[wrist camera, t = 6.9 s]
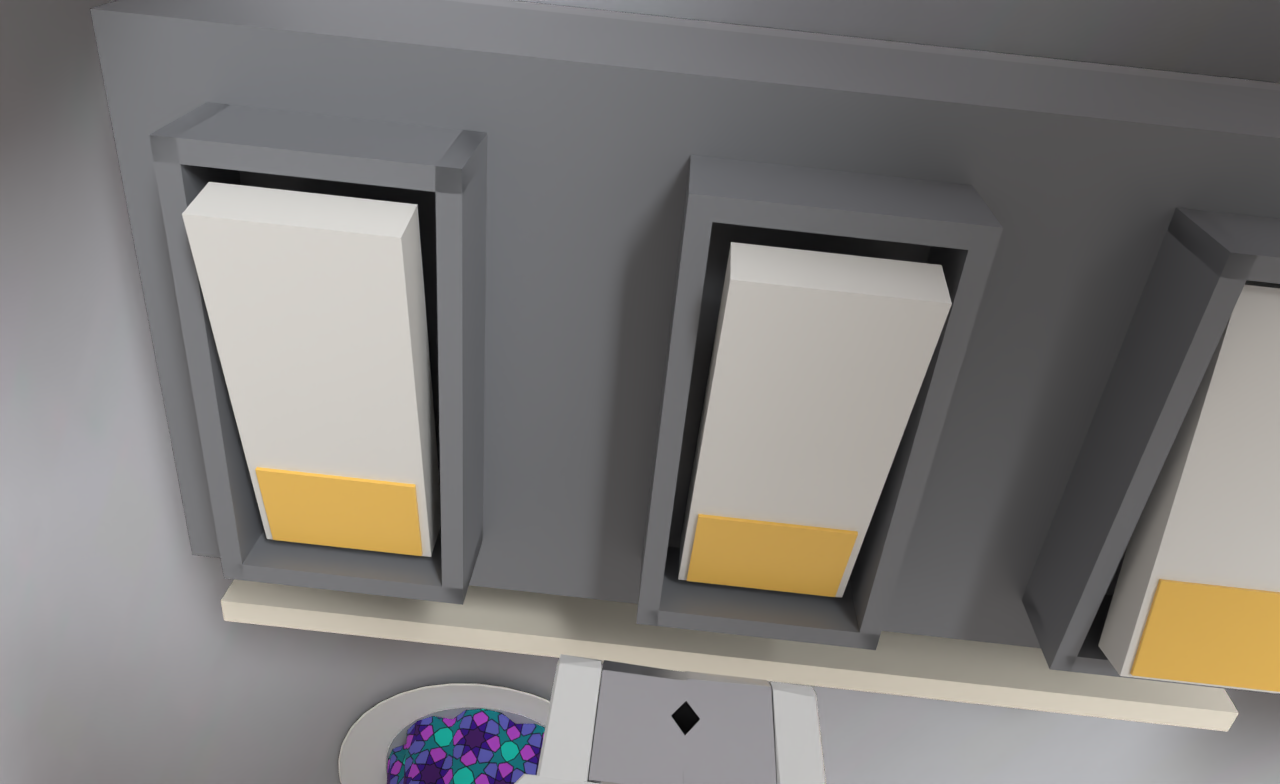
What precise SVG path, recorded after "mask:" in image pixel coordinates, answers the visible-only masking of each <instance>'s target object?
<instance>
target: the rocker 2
mask: <svg viewBox="0 0 1280 784" xmlns="http://www.w3.org/2000/svg"><path fill="white" fill-rule="evenodd" d="M951 304H952V302H951V299H950V295H949V291H948V287H947V284H946V280H945V276H944V272H943V268H942V265H937V264H927V263H918V262H909V261H900V260H891V259H881V258H872V257H863V256H854V255H845V254H836V253H826V252H817V251H808V250H799V249H790V248H780V247H771V246H762V245H753V244H744V243H735V242H731V245H730V250H729V256H728V262H727V268H726V274H725V280H724V286H723V292H722V298H721V304H720V310H719V315H718V321H717V327H716V333H715V339H714V345H713V351H712V357H711V363H710V369H709V375H708V380H707V386H706V392H705V398H704V404H703V410H702V416H701V422H700V428H699V434H698V440H697V446H696V451H695V457H694V463H693V469H692V475H691V481H690V487H689V493H688V499H687V505H686V511H685V516H684V522H683V528H682V534H681V540H680V556H679V574H678V580H687V581H692V582H701V583H710V584H719V585H728V586H737V587H746V588H755V589H764V590H774V591H783V592H792V593H801V594H810V595H819V596H828V597H842V596H843V594H844V591H845V588H846V586H847V583H848V580H849V578H850V575H851V572H852V569H853V567H854V564H855V561H856V559H857V556H858V553H859V551H860V548H861V545H862V543H863V540H864V537H865V535H866V532H867V529H868V527H869V524H870V521H871V519H872V516H873V513H874V511H875V508H876V505H877V503H878V500H879V497H880V495H881V492H882V489H883V487H884V484H885V481H886V478H887V476H888V473H889V470H890V468H891V465H892V462H893V460H894V457H895V454H896V452H897V449H898V446H899V444H900V441H901V438H902V436H903V433H904V430H905V428H906V425H907V422H908V420H909V417H910V414H911V412H912V409H913V406H914V404H915V401H916V398H917V395H918V393H919V390H920V387H921V385H922V382H923V379H924V377H925V374H926V371H927V369H928V366H929V363H930V361H931V358H932V355H933V353H934V350H935V347H936V345H937V342H938V339H939V337H940V334H941V331H942V329H943V326H944V323H945V321H946V318H947V315H948V313H949V310H950V307H951Z"/></svg>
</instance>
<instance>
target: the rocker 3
mask: <svg viewBox="0 0 1280 784" xmlns="http://www.w3.org/2000/svg"><path fill="white" fill-rule="evenodd" d="M1098 646H1099V647H1100V649H1101V650H1102V652H1103V653H1104V654H1105V656H1106V657H1107V659H1108V660H1109V661H1110V663H1111V664H1112V665H1113V667H1114V668H1115V670H1116V671H1117V672H1118V674H1119V675H1120V676H1125V677H1134V678H1143V679H1152V680H1161V681H1170V682H1179V683H1188V684H1197V685H1206V686H1215V687H1225V688H1234V689H1243V690H1252V691H1261V692H1270V693H1279V694H1280V284H1276V283H1267V282H1258V281H1249V280H1247V281H1246V283H1245V285H1244V287H1243V289H1242V292H1241V294H1240V296H1239V298H1238V300H1237V303H1236V305H1235V307H1234V309H1233V312H1232V314H1231V316H1230V318H1229V320H1228V323H1227V325H1226V327H1225V329H1224V332H1223V334H1222V336H1221V338H1220V340H1219V343H1218V345H1217V347H1216V349H1215V352H1214V354H1213V356H1212V358H1211V360H1210V363H1209V365H1208V367H1207V369H1206V372H1205V374H1204V376H1203V378H1202V380H1201V383H1200V385H1199V387H1198V389H1197V391H1196V394H1195V396H1194V398H1193V400H1192V403H1191V405H1190V407H1189V409H1188V411H1187V414H1186V416H1185V418H1184V420H1183V423H1182V425H1181V427H1180V429H1179V431H1178V434H1177V436H1176V438H1175V440H1174V443H1173V445H1172V447H1171V449H1170V451H1169V454H1168V456H1167V458H1166V460H1165V462H1164V465H1163V467H1162V469H1161V471H1160V474H1159V476H1158V478H1157V480H1156V482H1155V485H1154V487H1153V489H1152V491H1151V494H1150V496H1149V498H1148V500H1147V502H1146V505H1145V507H1144V509H1143V511H1142V514H1141V516H1140V518H1139V520H1138V522H1137V525H1136V527H1135V529H1134V531H1133V534H1132V536H1131V538H1130V540H1129V543H1128V547H1127V550H1126V553H1125V557H1124V560H1123V564H1122V567H1121V570H1120V574H1119V577H1118V580H1117V584H1116V587H1115V591H1114V594H1113V597H1112V601H1111V604H1110V608H1109V611H1108V614H1107V618H1106V621H1105V624H1104V628H1103V631H1102V635H1101V638H1100V641H1099V645H1098Z"/></svg>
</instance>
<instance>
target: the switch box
mask: <svg viewBox="0 0 1280 784" xmlns="http://www.w3.org/2000/svg"><path fill="white" fill-rule="evenodd" d="M90 11H91V16H92V22H93V27H94V32H95V38H96V43H97V48H98V54H99V59H100V64H101V70H102V75H103V80H104V86H105V91H106V96H107V102H108V107H109V112H110V118H111V123H112V128H113V134H114V139H115V144H116V150H117V155H118V160H119V166H120V171H121V176H122V182H123V187H124V192H125V198H126V203H127V208H128V214H129V219H130V224H131V230H132V235H133V240H134V246H135V251H136V256H137V262H138V267H139V272H140V278H141V283H142V288H143V294H144V299H145V304H146V310H147V315H148V321H149V326H150V331H151V337H152V342H153V347H154V353H155V358H156V363H157V369H158V374H159V379H160V385H161V390H162V395H163V401H164V406H165V411H166V417H167V422H168V427H169V433H170V438H171V443H172V449H173V454H174V459H175V465H176V470H177V475H178V481H179V486H180V491H181V497H182V502H183V507H184V513H185V518H186V523H187V529H188V534H189V539H190V545H191V550H192V555H198V556H207V557H216V558H221V564H222V570H223V576H224V578H226V579H234V580H233V582H232V583H231V585H230V587H229V588H228V590H227V591H226V593H225V595H224V596H223V598H222V599H221V605H222V611H223V617H224V621H231V622H240V623H249V624H258V625H267V626H276V627H285V628H294V629H303V630H312V631H321V632H330V633H339V634H349V635H358V636H367V637H376V638H385V639H394V640H403V641H412V642H421V643H430V644H439V645H448V646H457V647H466V648H475V649H484V650H493V651H502V652H512V653H521V654H530V655H539V656H548V657H557V658H560V655H561V654H563V655H570V656H577V657H584V658H591V659H598V660H602V663H603V662H604V660H607V661H614V662H621V663H627V664H634V665H640V666H647V667H653V668H660V669H667V670H674V671H684V672H685V671H690V672H699V673H707V674H716V675H725V676H734V677H743V678H752V679H761V680H767V681H774V682H783V683H792V684H801V685H810V686H819V687H828V688H837V689H847V690H856V691H865V692H874V693H883V694H892V695H901V696H910V697H919V698H928V699H937V700H946V701H955V702H964V703H973V704H982V705H991V706H1000V707H1009V708H1019V709H1028V710H1037V711H1046V712H1055V713H1064V714H1073V715H1082V716H1091V717H1100V718H1109V719H1118V720H1127V721H1136V722H1145V723H1154V724H1163V725H1172V726H1182V727H1191V728H1200V729H1209V730H1218V731H1227V732H1228V730H1229V729H1230V727H1231V725H1232V724H1233V722H1234V720H1235V719H1236V717H1237V715H1238V714H1239V713H1238V711H1237V709H1236V708H1235V706H1234V704H1233V703H1232V701H1231V699H1230V698H1229V696H1228V694H1227V693H1226V691H1225V689H1232V690H1241V691H1250V692H1260V693H1269V694H1278V695H1280V694H1279V693H1270V692H1261V691H1252V690H1243V689H1234V688H1225V687H1215V686H1206V685H1197V684H1188V683H1179V682H1170V681H1161V680H1152V679H1143V678H1134V677H1125V676H1120V675H1119V674H1118V672H1117V671H1116V670H1115V668H1114V667H1113V665H1112V664H1111V663H1110V661H1109V660H1108V659H1107V657H1106V656H1105V654H1104V653H1103V652H1102V650H1101V649H1100V647H1099V646H1098V645H1099V641H1100V638H1101V635H1102V631H1103V628H1104V624H1105V621H1106V618H1107V614H1108V611H1109V608H1110V604H1111V601H1112V597H1113V594H1114V591H1115V587H1116V584H1117V580H1118V577H1119V574H1120V570H1121V567H1122V564H1123V560H1124V557H1125V553H1126V550H1127V547H1128V543H1129V540H1130V538H1131V536H1132V534H1133V531H1134V529H1135V527H1136V525H1137V522H1138V520H1139V518H1140V516H1141V514H1142V511H1143V509H1144V507H1145V505H1146V502H1147V500H1148V498H1149V496H1150V494H1151V491H1152V489H1153V487H1154V485H1155V482H1156V480H1157V478H1158V476H1159V474H1160V471H1161V469H1162V467H1163V465H1164V462H1165V460H1166V458H1167V456H1168V454H1169V451H1170V449H1171V447H1172V445H1173V443H1174V440H1175V438H1176V436H1177V434H1178V431H1179V429H1180V427H1181V425H1182V423H1183V420H1184V418H1185V416H1186V414H1187V411H1188V409H1189V407H1190V405H1191V403H1192V400H1193V398H1194V396H1195V394H1196V391H1197V389H1198V387H1199V385H1200V383H1201V380H1202V378H1203V376H1204V374H1205V372H1206V369H1207V367H1208V365H1209V363H1210V360H1211V358H1212V356H1213V354H1214V352H1215V349H1216V347H1217V345H1218V343H1219V340H1220V338H1221V336H1222V334H1223V332H1224V329H1225V327H1226V325H1227V323H1228V320H1229V318H1230V316H1231V314H1232V312H1233V309H1234V307H1235V305H1236V303H1237V300H1238V298H1239V296H1240V294H1241V292H1242V289H1243V287H1244V285H1245V283H1246V281H1247V280H1249V281H1258V282H1267V283H1276V284H1280V83H1273V82H1264V81H1255V80H1245V79H1236V78H1227V77H1218V76H1209V75H1199V74H1190V73H1181V72H1172V71H1162V70H1153V69H1144V68H1135V67H1125V66H1116V65H1107V64H1098V63H1088V62H1079V61H1070V60H1061V59H1051V58H1042V57H1033V56H1024V55H1014V54H1005V53H996V52H987V51H977V50H968V49H959V48H950V47H940V46H931V45H922V44H913V43H903V42H894V41H885V40H876V39H866V38H857V37H848V36H839V35H830V34H820V33H811V32H802V31H793V30H783V29H774V28H765V27H756V26H746V25H737V24H728V23H719V22H709V21H700V20H691V19H682V18H672V17H663V16H654V15H645V14H635V13H626V12H617V11H608V10H598V9H589V8H580V7H571V6H561V5H552V4H543V3H534V2H524V1H515V0H117V1H114V2H111V3H108V4H104V5H101V6H98V7H95V8H91V9H90ZM208 182H216V183H225V184H234V185H243V186H253V187H262V188H271V189H280V190H289V191H298V192H308V193H317V194H326V195H335V196H344V197H354V198H363V199H372V200H381V201H390V202H399V203H409V204H418V217H419V230H420V242H421V255H422V268H423V280H424V293H425V305H426V318H427V331H428V343H429V356H430V369H431V381H432V394H433V406H434V419H435V432H436V444H437V457H438V470H439V482H440V495H441V526H440V529H439V533H438V536H437V539H436V543H435V546H434V549H433V552H432V556H431V557H428V556H415V555H406V554H397V553H388V552H379V551H370V550H361V549H352V548H343V547H333V546H324V545H315V544H306V543H297V542H288V541H279V540H273V539H267V537H266V534H265V530H264V526H263V522H262V518H261V515H260V511H259V507H258V503H257V499H256V495H255V492H254V488H253V484H252V480H251V476H250V472H249V469H248V465H247V461H246V457H245V453H244V450H243V446H242V442H241V438H240V434H239V430H238V427H237V423H236V419H235V415H234V411H233V408H232V404H231V400H230V396H229V392H228V388H227V385H226V381H225V377H224V373H223V369H222V365H221V362H220V358H219V354H218V350H217V346H216V343H215V339H214V335H213V331H212V327H211V323H210V320H209V316H208V312H207V308H206V304H205V300H204V297H203V293H202V289H201V285H200V281H199V278H198V274H197V270H196V266H195V262H194V258H193V255H192V251H191V247H190V243H189V239H188V235H187V232H186V228H185V224H184V220H183V216H182V213H183V212H184V211H185V210H186V208H187V207H188V206H189V205H190V204H191V202H192V201H193V200H194V199H195V198H196V197H197V195H198V194H199V193H200V192H201V191H202V189H203V188H204V187H205V186H206V185H207V184H208ZM731 242H735V243H744V244H753V245H762V246H771V247H780V248H790V249H799V250H808V251H817V252H826V253H836V254H845V255H854V256H863V257H872V258H881V259H891V260H900V261H909V262H918V263H927V264H937V265H942V268H943V272H944V276H945V280H946V284H947V287H948V291H949V295H950V299H951V302H952V304H951V307H950V310H949V313H948V315H947V318H946V321H945V323H944V326H943V329H942V331H941V334H940V337H939V339H938V342H937V345H936V347H935V350H934V353H933V355H932V358H931V361H930V363H929V366H928V369H927V371H926V374H925V377H924V379H923V382H922V385H921V387H920V390H919V393H918V395H917V398H916V401H915V404H914V406H913V409H912V412H911V414H910V417H909V420H908V422H907V425H906V428H905V430H904V433H903V436H902V438H901V441H900V444H899V446H898V449H897V452H896V454H895V457H894V460H893V462H892V465H891V468H890V470H889V473H888V476H887V478H886V481H885V484H884V487H883V489H882V492H881V495H880V497H879V500H878V503H877V505H876V508H875V511H874V513H873V516H872V519H871V521H870V524H869V527H868V529H867V532H866V535H865V537H864V540H863V543H862V545H861V548H860V551H859V553H858V556H857V559H856V561H855V564H854V567H853V569H852V572H851V575H850V578H849V580H848V583H847V586H846V588H845V591H844V594H843V596H842V597H828V596H819V595H810V594H801V593H792V592H783V591H774V590H764V589H755V588H746V587H737V586H728V585H719V584H710V583H701V582H692V581H687V580H678V574H679V556H680V540H681V534H682V528H683V522H684V516H685V511H686V505H687V499H688V493H689V487H690V481H691V475H692V469H693V463H694V457H695V451H696V446H697V440H698V434H699V428H700V422H701V416H702V410H703V404H704V398H705V392H706V386H707V380H708V375H709V369H710V363H711V357H712V351H713V345H714V339H715V333H716V327H717V321H718V315H719V310H720V304H721V298H722V292H723V286H724V280H725V274H726V268H727V262H728V256H729V250H730V245H731Z"/></svg>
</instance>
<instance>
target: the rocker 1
mask: <svg viewBox="0 0 1280 784" xmlns="http://www.w3.org/2000/svg"><path fill="white" fill-rule="evenodd" d="M182 216H183V220H184V224H185V228H186V232H187V235H188V239H189V243H190V247H191V251H192V255H193V258H194V262H195V266H196V270H197V274H198V278H199V281H200V285H201V289H202V293H203V297H204V300H205V304H206V308H207V312H208V316H209V320H210V323H211V327H212V331H213V335H214V339H215V343H216V346H217V350H218V354H219V358H220V362H221V365H222V369H223V373H224V377H225V381H226V385H227V388H228V392H229V396H230V400H231V404H232V408H233V411H234V415H235V419H236V423H237V427H238V430H239V434H240V438H241V442H242V446H243V450H244V453H245V457H246V461H247V465H248V469H249V472H250V476H251V480H252V484H253V488H254V492H255V495H256V499H257V503H258V507H259V511H260V515H261V518H262V522H263V526H264V530H265V534H266V537H267V539H273V540H279V541H288V542H297V543H306V544H315V545H324V546H333V547H343V548H352V549H361V550H370V551H379V552H388V553H397V554H406V555H415V556H428V557H431V556H432V552H433V549H434V546H435V543H436V539H437V536H438V533H439V529H440V526H441V495H440V482H439V470H438V457H437V444H436V432H435V419H434V406H433V394H432V381H431V369H430V356H429V343H428V331H427V318H426V305H425V293H424V280H423V268H422V255H421V242H420V230H419V217H418V204H409V203H399V202H390V201H381V200H372V199H363V198H354V197H344V196H335V195H326V194H317V193H308V192H298V191H289V190H280V189H271V188H262V187H253V186H243V185H234V184H225V183H216V182H208V184H207V185H206V186H205V187H204V188H203V189H202V191H201V192H200V193H199V194H198V195H197V197H196V198H195V199H194V200H193V201H192V202H191V204H190V205H189V206H188V207H187V208H186V210H185V211H184V212H183V213H182Z"/></svg>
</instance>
